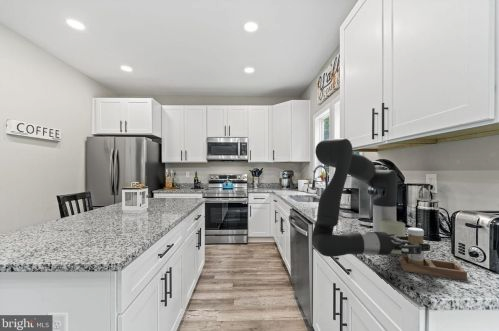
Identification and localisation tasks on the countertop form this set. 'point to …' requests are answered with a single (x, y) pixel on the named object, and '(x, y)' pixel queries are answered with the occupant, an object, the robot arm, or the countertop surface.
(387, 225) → the can
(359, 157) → the robot arm
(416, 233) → the sprinkles bottle
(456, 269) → the holder
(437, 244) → the countertop surface
